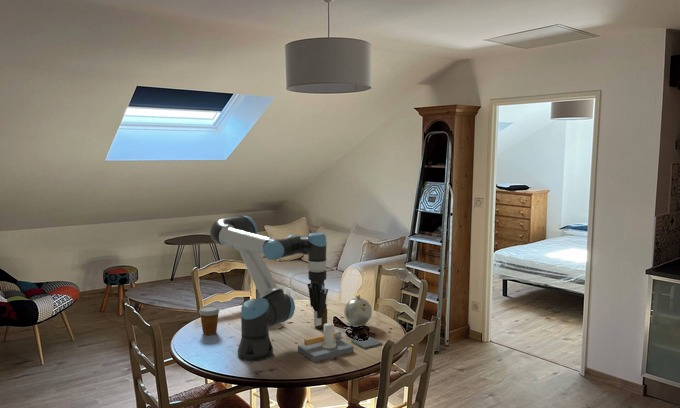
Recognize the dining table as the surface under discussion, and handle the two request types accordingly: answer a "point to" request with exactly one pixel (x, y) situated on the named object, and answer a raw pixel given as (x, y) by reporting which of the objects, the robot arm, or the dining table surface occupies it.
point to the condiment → (322, 320)
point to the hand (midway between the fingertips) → (317, 324)
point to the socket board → (325, 350)
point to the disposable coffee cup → (209, 319)
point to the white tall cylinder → (328, 337)
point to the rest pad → (367, 343)
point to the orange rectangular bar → (320, 338)
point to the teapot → (358, 312)
